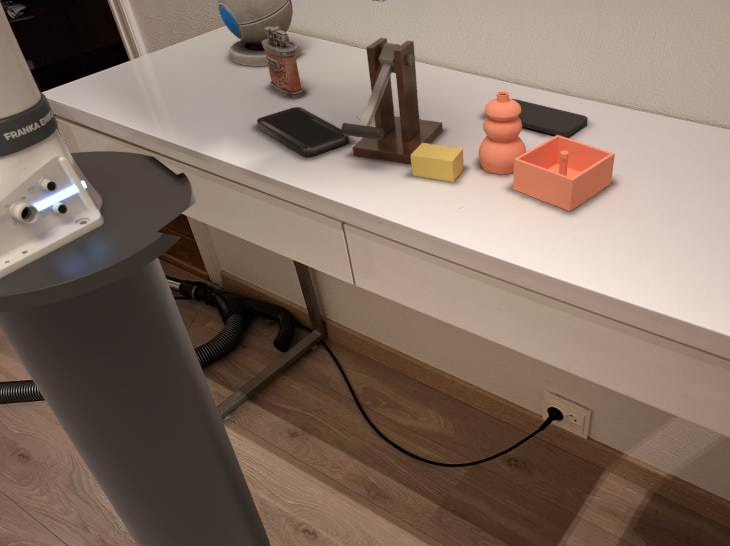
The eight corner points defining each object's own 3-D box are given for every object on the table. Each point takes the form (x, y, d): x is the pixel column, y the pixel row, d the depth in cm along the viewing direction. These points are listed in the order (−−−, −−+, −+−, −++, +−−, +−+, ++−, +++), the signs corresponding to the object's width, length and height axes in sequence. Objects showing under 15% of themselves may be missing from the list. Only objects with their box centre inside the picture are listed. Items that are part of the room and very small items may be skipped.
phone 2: (509, 97, 110) (590, 116, 103) (509, 102, 110) (590, 122, 104) (483, 112, 105) (566, 133, 99) (483, 117, 106) (566, 139, 99)
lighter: (266, 87, 117) (253, 25, 110) (284, 82, 118) (271, 20, 112) (290, 99, 112) (278, 36, 106) (308, 94, 114) (297, 31, 107)
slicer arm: (382, 144, 88) (376, 133, 86) (345, 139, 90) (338, 127, 88) (415, 58, 92) (410, 45, 90) (379, 54, 94) (373, 41, 91)
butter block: (453, 182, 90) (452, 161, 88) (412, 175, 92) (410, 154, 90) (463, 169, 93) (463, 148, 91) (423, 163, 94) (422, 142, 92)
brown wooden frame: (411, 164, 94) (402, 62, 85) (353, 155, 96) (338, 55, 87) (442, 130, 102) (438, 34, 93) (389, 123, 105) (379, 28, 95)
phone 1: (304, 150, 95) (254, 119, 103) (306, 158, 96) (255, 126, 104) (351, 134, 99) (299, 105, 107) (352, 141, 99) (300, 112, 108)
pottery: (611, 183, 89) (620, 110, 83) (569, 211, 84) (576, 135, 77) (505, 146, 98) (506, 77, 91) (462, 169, 93) (460, 98, 86)
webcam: (312, 54, 129) (297, -34, 119) (252, 71, 123) (231, -21, 112) (277, 39, 136) (260, -46, 126) (219, 54, 130) (196, -34, 120)
